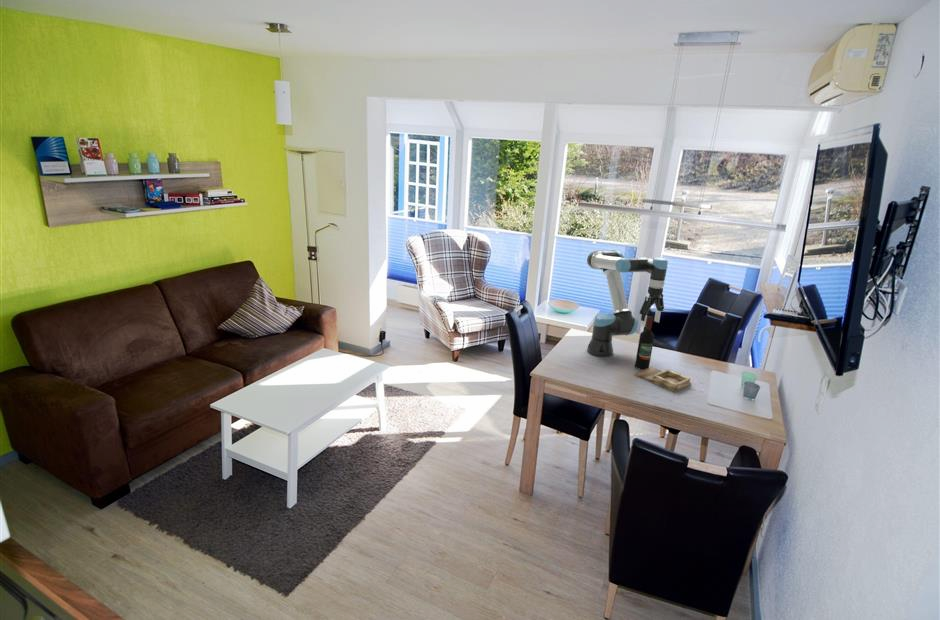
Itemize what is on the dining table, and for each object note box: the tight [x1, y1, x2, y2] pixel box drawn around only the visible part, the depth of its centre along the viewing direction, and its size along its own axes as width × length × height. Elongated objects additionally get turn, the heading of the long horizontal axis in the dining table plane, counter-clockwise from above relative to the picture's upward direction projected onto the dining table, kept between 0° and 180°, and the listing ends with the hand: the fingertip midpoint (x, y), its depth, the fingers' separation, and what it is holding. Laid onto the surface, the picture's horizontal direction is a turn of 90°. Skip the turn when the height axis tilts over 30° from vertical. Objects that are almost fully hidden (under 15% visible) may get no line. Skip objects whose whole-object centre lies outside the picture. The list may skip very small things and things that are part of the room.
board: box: [634, 366, 692, 393], centre depth 272 cm, size 24×16×4 cm, turn 39°
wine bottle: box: [634, 315, 655, 370], centre depth 282 cm, size 8×8×30 cm
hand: (649, 323), depth 278 cm, fingers open, 13 cm apart
